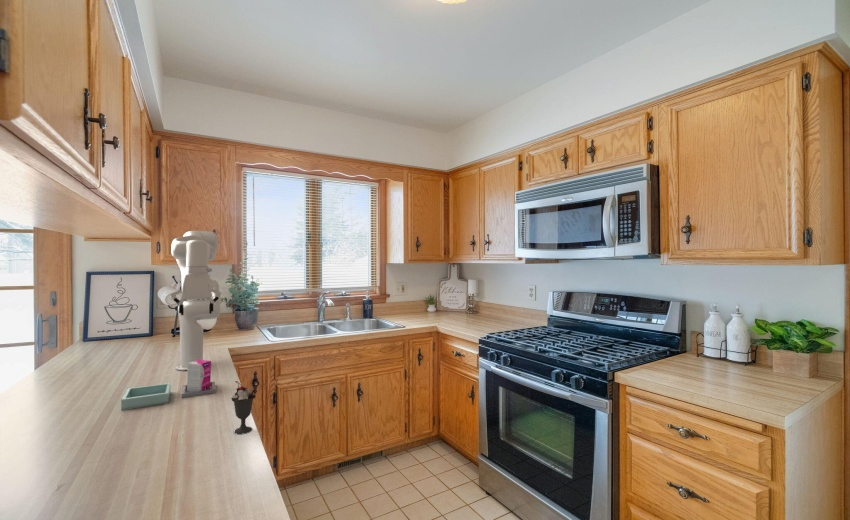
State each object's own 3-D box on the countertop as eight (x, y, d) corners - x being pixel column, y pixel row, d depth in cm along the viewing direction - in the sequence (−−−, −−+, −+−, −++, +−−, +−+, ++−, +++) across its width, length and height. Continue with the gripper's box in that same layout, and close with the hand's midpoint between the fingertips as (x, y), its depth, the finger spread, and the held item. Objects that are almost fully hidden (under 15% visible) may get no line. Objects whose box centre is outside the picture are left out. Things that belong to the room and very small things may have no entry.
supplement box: (199, 394, 147) (200, 364, 147) (186, 393, 148) (186, 363, 148) (211, 389, 152) (211, 360, 152) (198, 388, 153) (198, 359, 153)
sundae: (226, 430, 116) (227, 380, 116) (249, 424, 120) (250, 375, 121) (235, 437, 111) (236, 385, 111) (258, 430, 116) (259, 380, 116)
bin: (127, 398, 142) (127, 388, 142) (170, 392, 148) (170, 382, 148) (121, 410, 130) (121, 399, 130) (168, 403, 137) (168, 393, 137)
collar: (182, 389, 152) (182, 385, 152) (214, 385, 157) (214, 381, 157) (181, 397, 142) (181, 393, 142) (215, 393, 148) (215, 389, 148)
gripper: (220, 271, 162) (220, 312, 161) (171, 271, 154) (171, 314, 153) (221, 270, 156) (221, 313, 155) (170, 271, 147) (169, 316, 146)
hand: (196, 314), depth 154 cm, fingers open, 9 cm apart
